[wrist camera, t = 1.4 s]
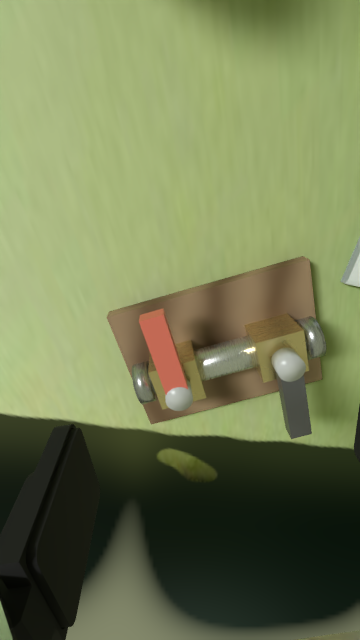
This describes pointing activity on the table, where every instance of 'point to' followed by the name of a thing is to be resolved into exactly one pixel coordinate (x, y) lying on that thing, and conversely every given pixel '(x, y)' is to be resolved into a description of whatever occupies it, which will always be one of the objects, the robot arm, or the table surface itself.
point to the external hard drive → (353, 268)
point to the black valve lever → (292, 391)
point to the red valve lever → (166, 360)
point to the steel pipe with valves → (235, 356)
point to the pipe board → (221, 326)
